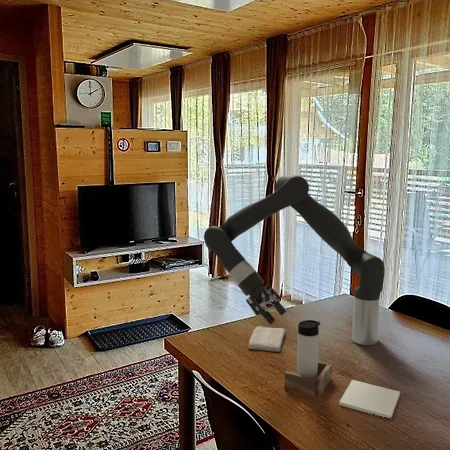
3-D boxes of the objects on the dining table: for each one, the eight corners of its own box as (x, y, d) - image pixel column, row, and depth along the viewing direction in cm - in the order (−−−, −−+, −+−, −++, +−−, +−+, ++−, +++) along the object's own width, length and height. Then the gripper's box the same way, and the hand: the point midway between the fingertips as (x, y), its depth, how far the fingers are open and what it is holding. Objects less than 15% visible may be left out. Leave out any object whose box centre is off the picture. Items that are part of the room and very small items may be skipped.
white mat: (352, 382, 141) (352, 379, 140) (399, 394, 134) (400, 391, 133) (339, 404, 129) (339, 401, 128) (390, 419, 122) (391, 416, 121)
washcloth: (285, 333, 178) (285, 326, 178) (280, 354, 161) (281, 345, 161) (255, 331, 181) (255, 323, 181) (247, 350, 164) (247, 342, 163)
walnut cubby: (299, 370, 148) (299, 356, 147) (331, 378, 143) (332, 364, 142) (284, 387, 138) (284, 372, 137) (318, 397, 132) (319, 381, 132)
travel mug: (318, 389, 137) (320, 326, 133) (296, 387, 138) (297, 325, 135) (318, 379, 143) (320, 318, 139) (297, 377, 144) (298, 317, 141)
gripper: (243, 276, 138) (277, 319, 134) (263, 265, 150) (295, 304, 146) (228, 290, 141) (261, 332, 138) (249, 278, 154) (279, 317, 150)
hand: (278, 318), depth 142 cm, fingers open, 8 cm apart
